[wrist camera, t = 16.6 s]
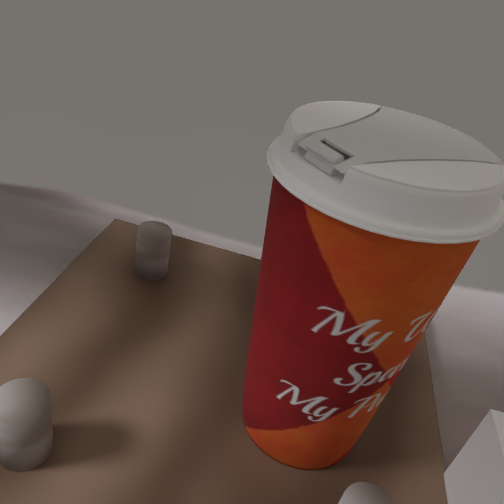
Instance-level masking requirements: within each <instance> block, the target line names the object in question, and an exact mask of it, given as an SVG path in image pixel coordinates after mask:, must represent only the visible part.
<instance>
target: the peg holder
mask: <svg viewBox="0 0 504 504" xmlns="http://www.w3.org/2000/svg"><path fill="white" fill-rule="evenodd" d="M260 265H261V260H259V259H256V258H252V257H249V256H245V255H242V254H238V253H235V252H231V251H228V250H224V249H220V248H217V247H213V246H210V245H206V244H203V243H199V242H196V241H192V240H189V239H185V238H181V237H178V236H174V235H172V230H171V228H170V227H169V226H168V225H166V224H164V223H161V222H157V221H148V222H144V223H142V224H140V225H135V224H132V223H128V222H125V221H121V220H118V219H115V220H114V221H113V222H112V223H111V224H110V225H109V226H108V227H107V228H106V229H105V230H104V231H103V232H102V233H101V234H100V235H99V236H98V237H97V238H96V239H95V240H94V241H93V242H92V243H91V244H90V245H89V246H88V247H87V248H86V249H85V250H84V251H83V252H82V253H81V254H80V255H79V256H78V257H77V258H76V259H75V260H74V261H73V262H72V263H71V264H70V265H69V267H68V268H67V269H66V270H65V271H64V272H63V273H62V274H61V275H60V276H59V277H58V278H57V279H56V280H55V281H54V282H53V283H52V284H51V285H50V286H49V287H48V288H47V289H46V290H45V291H44V292H43V293H42V294H41V295H40V296H39V297H38V298H37V299H36V300H35V301H34V302H33V303H32V304H31V305H30V306H29V307H28V308H27V309H26V310H25V311H24V312H23V313H22V314H21V315H20V317H19V318H18V319H17V320H16V321H15V322H14V323H13V324H12V325H11V326H10V327H9V328H8V329H7V330H6V331H5V332H4V333H3V334H2V335H1V336H0V504H448V500H447V494H446V487H445V480H444V473H445V466H444V460H443V453H442V446H441V439H440V433H439V426H438V419H437V412H436V406H435V399H434V392H433V385H432V379H431V372H430V365H429V358H428V351H427V345H426V338H425V332H424V333H423V335H422V337H421V338H420V340H419V342H418V343H417V345H416V347H415V348H414V350H413V351H412V353H411V355H410V356H409V358H408V360H407V361H406V363H405V365H404V366H403V368H402V370H401V371H400V373H399V375H398V376H397V378H396V379H395V381H394V383H393V384H392V386H391V388H390V389H389V391H388V393H387V394H386V396H385V397H384V399H383V401H382V402H381V404H380V406H379V407H378V409H377V410H376V412H375V414H374V415H373V417H372V418H371V420H370V422H369V423H368V425H367V427H366V428H365V430H364V431H363V433H362V434H361V436H360V437H359V439H358V440H357V442H356V443H355V445H354V446H353V447H352V449H351V450H350V452H349V453H348V454H347V455H346V456H345V457H344V458H343V459H342V460H340V461H339V462H338V463H336V464H334V465H332V466H330V467H327V468H323V469H318V470H302V469H296V468H292V467H289V466H286V465H283V464H281V463H279V462H277V461H275V460H273V459H272V458H270V457H269V456H267V455H266V454H265V453H264V452H263V451H261V450H260V449H259V448H258V446H257V445H256V444H255V443H254V442H253V440H252V439H251V437H250V436H249V434H248V432H247V430H246V427H245V425H244V421H243V416H242V398H243V388H244V379H245V372H246V364H247V357H248V349H249V342H250V335H251V328H252V321H253V314H254V306H255V299H256V292H257V286H258V279H259V272H260Z"/></svg>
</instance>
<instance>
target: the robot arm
mask: <svg viewBox="0 0 504 504" xmlns="http://www.w3.org/2000/svg"><path fill="white" fill-rule="evenodd" d="M444 480H445V487H446V494H447V500H448V504H504V412H500V411H497V410H494V409H490V411H489V412H488V413H487V415H486V416H485V417H484V419H483V420H482V422H481V423H480V424H479V426H478V427H477V428H476V430H475V431H474V433H473V434H472V435H471V437H470V438H469V440H468V441H467V442H466V444H465V445H464V446H463V448H462V449H461V451H460V452H459V453H458V455H457V456H456V457H455V459H454V460H453V462H452V463H451V464H450V466H449V467H448V469H447V470H446V471H445V473H444Z"/></svg>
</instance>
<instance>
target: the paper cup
mask: <svg viewBox="0 0 504 504" xmlns="http://www.w3.org/2000/svg"><path fill="white" fill-rule="evenodd" d="M267 162H268V166H269V168H270V170H271V172H272V174H273V182H272V189H271V196H270V203H269V209H268V216H267V223H266V230H265V237H264V244H263V251H262V258H261V265H260V272H259V279H258V286H257V292H256V299H255V306H254V314H253V321H252V328H251V335H250V342H249V349H248V357H247V364H246V372H245V379H244V388H243V398H242V416H243V421H244V425H245V427H246V430H247V432H248V434H249V436H250V437H251V439H252V440H253V442H254V443H255V444H256V445H257V446H258V448H259V449H260V450H261V451H263V452H264V453H265V454H266V455H267V456H269V457H270V458H272V459H273V460H275V461H277V462H279V463H281V464H283V465H286V466H289V467H292V468H296V469H302V470H318V469H323V468H327V467H330V466H332V465H334V464H336V463H338V462H339V461H340V460H342V459H343V458H344V457H345V456H346V455H347V454H348V453H349V452H350V450H351V449H352V447H353V446H354V445H355V443H356V442H357V440H358V439H359V437H360V436H361V434H362V433H363V431H364V430H365V428H366V427H367V425H368V423H369V422H370V420H371V418H372V417H373V415H374V414H375V412H376V410H377V409H378V407H379V406H380V404H381V402H382V401H383V399H384V397H385V396H386V394H387V393H388V391H389V389H390V388H391V386H392V384H393V383H394V381H395V379H396V378H397V376H398V375H399V373H400V371H401V370H402V368H403V366H404V365H405V363H406V361H407V360H408V358H409V356H410V355H411V353H412V351H413V350H414V348H415V347H416V345H417V343H418V342H419V340H420V338H421V337H422V335H423V333H424V332H425V330H426V328H427V327H428V325H429V323H430V322H431V320H432V318H433V317H434V315H435V313H436V312H437V310H438V308H439V307H440V305H441V303H442V302H443V300H444V299H445V297H446V295H447V294H448V292H449V290H450V289H451V287H452V285H453V284H454V282H455V280H456V279H457V277H458V275H459V274H460V272H461V270H462V269H463V267H464V265H465V264H466V262H467V260H468V259H469V257H470V255H471V254H472V252H473V250H474V249H475V247H476V246H477V244H478V242H479V241H480V239H484V238H486V237H488V236H490V235H492V234H494V233H495V232H496V231H497V230H498V229H499V228H500V227H501V226H502V224H503V221H504V202H503V199H502V195H503V192H504V165H503V163H502V162H501V161H500V160H499V159H498V158H497V156H496V155H495V154H494V153H492V152H491V151H490V150H489V149H488V148H487V147H485V146H484V145H482V144H481V143H480V142H478V141H476V140H475V139H473V138H471V137H469V136H468V135H466V134H464V133H461V132H460V131H458V130H455V129H453V128H451V127H448V126H446V125H444V124H441V123H439V122H436V121H434V120H431V119H428V118H425V117H422V116H419V115H415V114H412V113H408V112H404V111H401V110H397V109H392V108H388V107H384V106H381V109H380V105H374V104H368V103H360V102H350V101H322V102H314V103H310V104H306V105H303V106H301V107H299V108H297V109H296V110H295V111H294V112H293V113H292V114H291V115H290V117H289V119H288V120H287V122H286V125H285V128H284V130H283V133H282V134H281V135H280V136H278V137H277V138H276V139H275V140H274V142H273V143H272V144H271V145H270V147H269V149H268V153H267Z"/></svg>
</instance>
